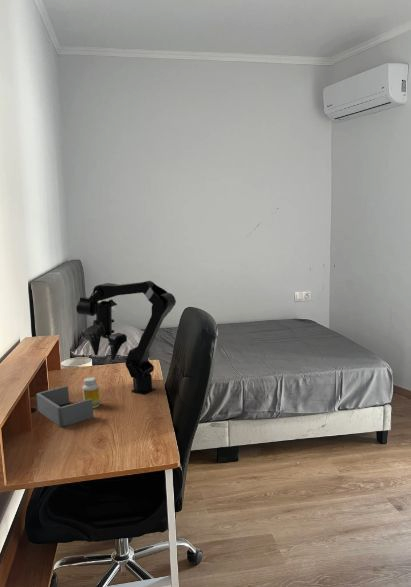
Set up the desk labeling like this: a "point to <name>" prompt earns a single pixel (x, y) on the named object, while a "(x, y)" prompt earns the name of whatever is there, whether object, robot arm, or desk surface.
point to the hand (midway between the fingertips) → (104, 357)
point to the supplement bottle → (91, 391)
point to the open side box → (66, 414)
